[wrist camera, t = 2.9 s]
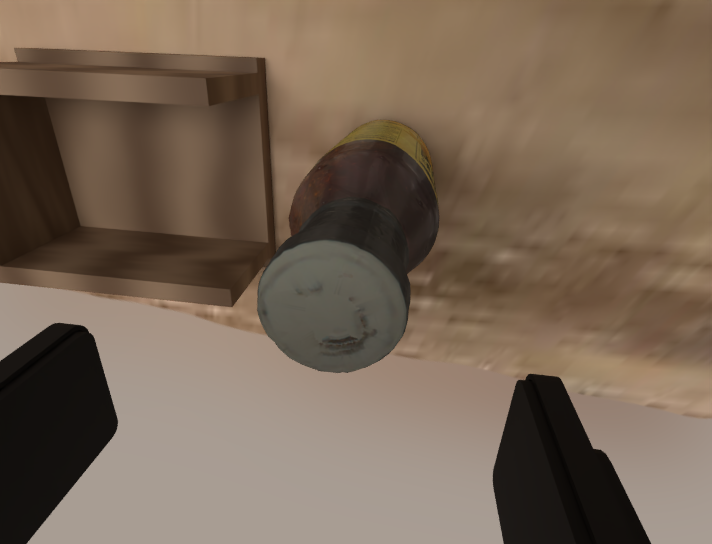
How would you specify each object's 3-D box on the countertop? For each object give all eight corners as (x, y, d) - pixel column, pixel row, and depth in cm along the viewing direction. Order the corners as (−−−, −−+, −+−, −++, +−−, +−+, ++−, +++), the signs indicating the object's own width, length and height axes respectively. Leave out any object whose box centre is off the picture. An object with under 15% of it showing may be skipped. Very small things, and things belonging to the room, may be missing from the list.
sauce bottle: (414, 219, 30) (405, 446, 13) (330, 195, 30) (204, 388, 13) (446, 126, 27) (492, 255, 10) (352, 99, 27) (225, 178, 10)
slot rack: (264, 57, 27) (203, 59, 19) (275, 258, 33) (233, 318, 26) (32, 48, 28) (-107, 45, 21) (86, 241, 35) (-6, 292, 27)
